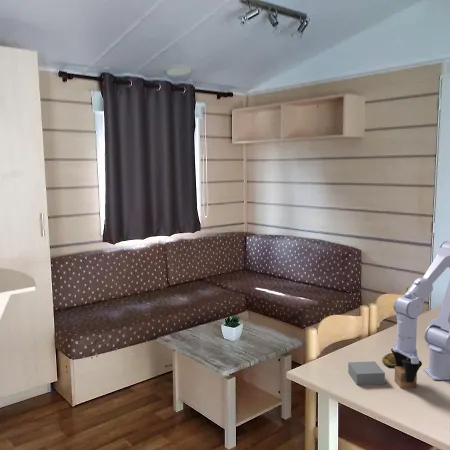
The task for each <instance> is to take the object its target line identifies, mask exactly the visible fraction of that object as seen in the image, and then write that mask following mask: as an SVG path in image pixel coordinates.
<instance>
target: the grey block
mask: <svg viewBox="0 0 450 450" xmlns="http://www.w3.org/2000/svg"><path fill="white" fill-rule="evenodd" d="M347 366H348V367H347V368H348V369H347V370H348V371H347V373H348V375H349V376H350V377H351V379H352V380H353V381H354V383H355V384H356V386H365V385H366V386H367V385H368V386H369V385H371V386H372V385H385V384H386V383H385V381H386V380H385V379H386V377H385V376H386V373H385V371H384V370H383V369H382V368H381V367H380V365H379V364H378V363H377V362H376V361H349V362H348V365H347Z"/></svg>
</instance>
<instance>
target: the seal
mask: <svg viewBox="0 0 450 450" xmlns="http://www.w3.org/2000/svg"><path fill="white" fill-rule="evenodd" d="M407 360H408V357H407ZM381 361H382V364H383V365H384V366H385V367H388V368H394V369H395V366H396V363H395V358H394V355H393V353H392V352H389V353H387V354H386V355H384V356H383V357H382V359H381Z"/></svg>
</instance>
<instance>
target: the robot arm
mask: <svg viewBox="0 0 450 450" xmlns="http://www.w3.org/2000/svg"><path fill="white" fill-rule="evenodd" d="M447 268H449V269H450V241H448V240H445V241H441V243H440V244H439V245H438V247H437V248H436V249H435V257H434V259H433V261H432V263H430V266H429V267H428V268H427V270H426V271H425V273H424V275H423V276H422V277H417V278H416V279H415V280H414V281H413V283H412V284H411V285H410V287H409V288H408V289H407V291H406V292H405V293H404V295H403V296H402V295H401V296H399V297H398V298H396V299H395V302H394V305H393V306H392V308H393V311H394V312H395V318H396V319H397V321H396V324H397V325H396V327H397V328H396V339H395V340H394V347H392V348H390V352H391V353H393V355H394V358H395V363H396V366H404V369H405V376H406V381H407V382H414V380H415V377H416V374H417V375H418V372H419V369H420V368H421V367H422V366H423V362H422V361H421V360H420V359H419V356H418V350H417V335H418V334H417V332H418V331H417V328H418V317H419V316H420V315H421V314H422V311H423V307H424V302H425V301H426V300H427V298H428V297H429V296H430V295H431V293H432V292H433V290H434V286H433V285H434V283H435V282H436V281H437V279H438V278H439V277H440V276H441V275H443V273H444V272H445V271H446V270H447ZM448 279H449V280H448V283H447V287H446V290H445V292H444V296H443V299H442V303H441V305H440V310H439V313H438V315H437V316H438V317H435V318H434V319H432V320H430V321H429V324H428V326H427V328H426V329H425V330H424V334H423V335H424V336H423V338H424V341H425V342H426V343H427V347H428V349H429V352H428V353H429V355H428V356H429V357H428V367H424V368H423V371H424V372H425V373H426V374H428V375H429V377H431V379H432V380H433V381H440V380H441V381H445V380H447V381H449V380H450V278H448ZM407 357H408V360H407Z"/></svg>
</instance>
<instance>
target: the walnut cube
mask: <svg viewBox="0 0 450 450" xmlns="http://www.w3.org/2000/svg"><path fill="white" fill-rule="evenodd" d="M417 377H418V373H417V374H416V377H415V380H414V382H407V381H406V376H405V369H404V366H395V367H394V382H395V384H396V385H397V386H398V387H399V389H417V380H418V378H417Z"/></svg>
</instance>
